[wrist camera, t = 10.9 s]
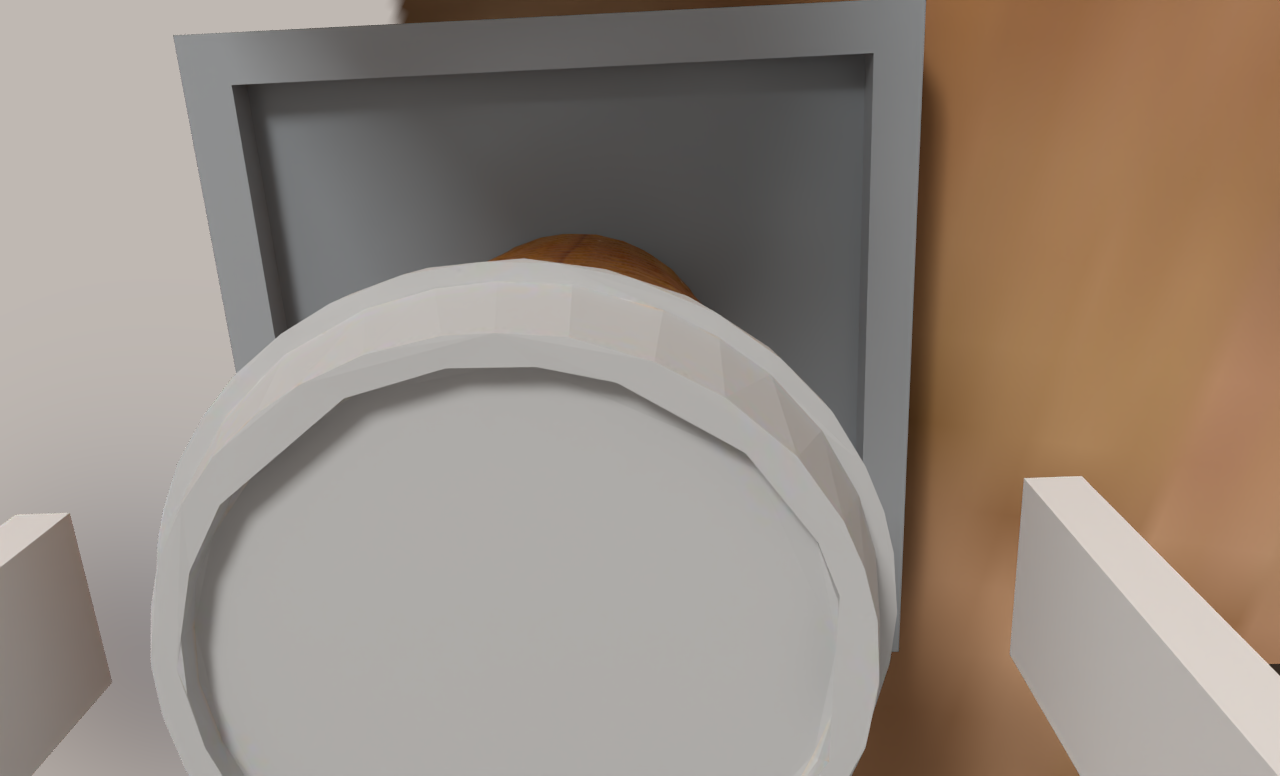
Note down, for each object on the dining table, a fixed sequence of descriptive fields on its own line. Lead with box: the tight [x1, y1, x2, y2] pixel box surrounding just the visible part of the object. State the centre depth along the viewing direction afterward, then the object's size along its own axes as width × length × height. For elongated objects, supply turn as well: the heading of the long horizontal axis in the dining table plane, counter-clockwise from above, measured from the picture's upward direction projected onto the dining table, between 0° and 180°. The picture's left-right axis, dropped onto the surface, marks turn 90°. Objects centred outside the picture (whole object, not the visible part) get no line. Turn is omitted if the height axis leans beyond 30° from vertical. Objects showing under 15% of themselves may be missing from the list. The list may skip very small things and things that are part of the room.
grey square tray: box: [173, 0, 926, 652], centre depth 23 cm, size 15×15×2 cm
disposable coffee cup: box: [151, 234, 897, 776], centre depth 17 cm, size 10×10×12 cm
